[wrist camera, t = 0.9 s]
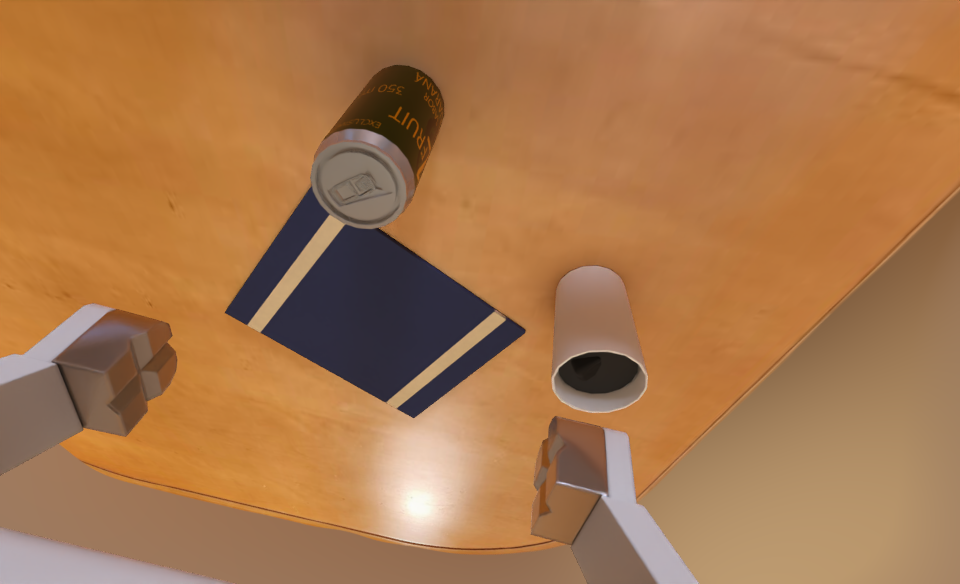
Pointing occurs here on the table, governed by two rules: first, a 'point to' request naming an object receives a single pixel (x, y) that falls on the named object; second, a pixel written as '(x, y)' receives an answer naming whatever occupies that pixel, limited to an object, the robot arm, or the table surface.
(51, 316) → the table surface
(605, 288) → the white coffee cup
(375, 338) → the cloth
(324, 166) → the green drink can
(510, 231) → the table surface
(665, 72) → the table surface
